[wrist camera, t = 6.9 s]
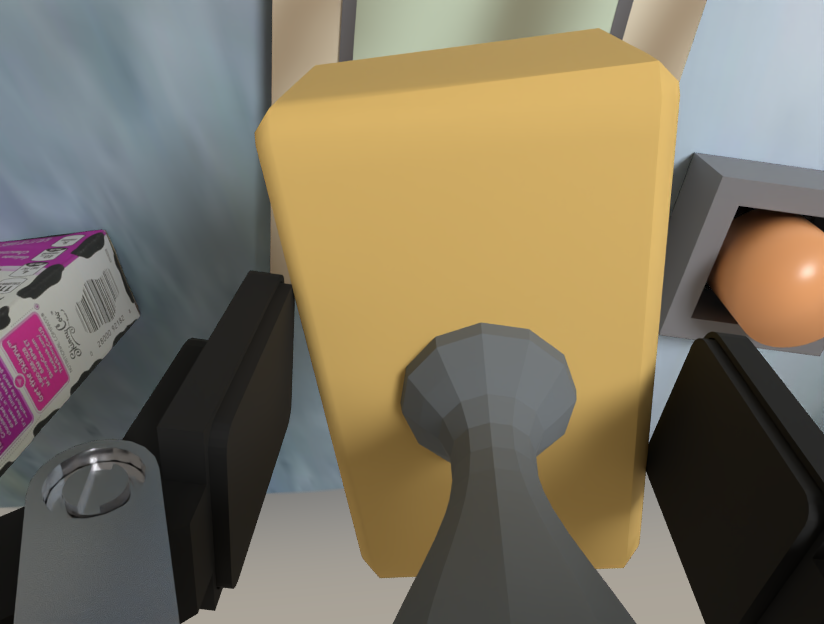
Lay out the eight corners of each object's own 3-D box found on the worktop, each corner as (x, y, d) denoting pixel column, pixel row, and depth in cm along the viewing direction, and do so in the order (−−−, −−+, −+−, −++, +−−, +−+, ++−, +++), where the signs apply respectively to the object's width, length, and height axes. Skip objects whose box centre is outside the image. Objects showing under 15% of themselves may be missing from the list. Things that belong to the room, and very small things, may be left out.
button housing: (861, 176, 25) (908, 202, 23) (785, 319, 29) (819, 356, 26) (694, 152, 25) (723, 176, 22) (639, 300, 29) (659, 334, 26)
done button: (835, 214, 24) (889, 252, 21) (786, 308, 27) (829, 354, 24) (727, 199, 24) (767, 235, 21) (688, 295, 27) (718, 339, 24)
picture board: (716, -70, 21) (732, -71, 20) (588, 321, 29) (594, 336, 28) (281, -136, 21) (272, -140, 20) (276, 279, 29) (269, 293, 28)
